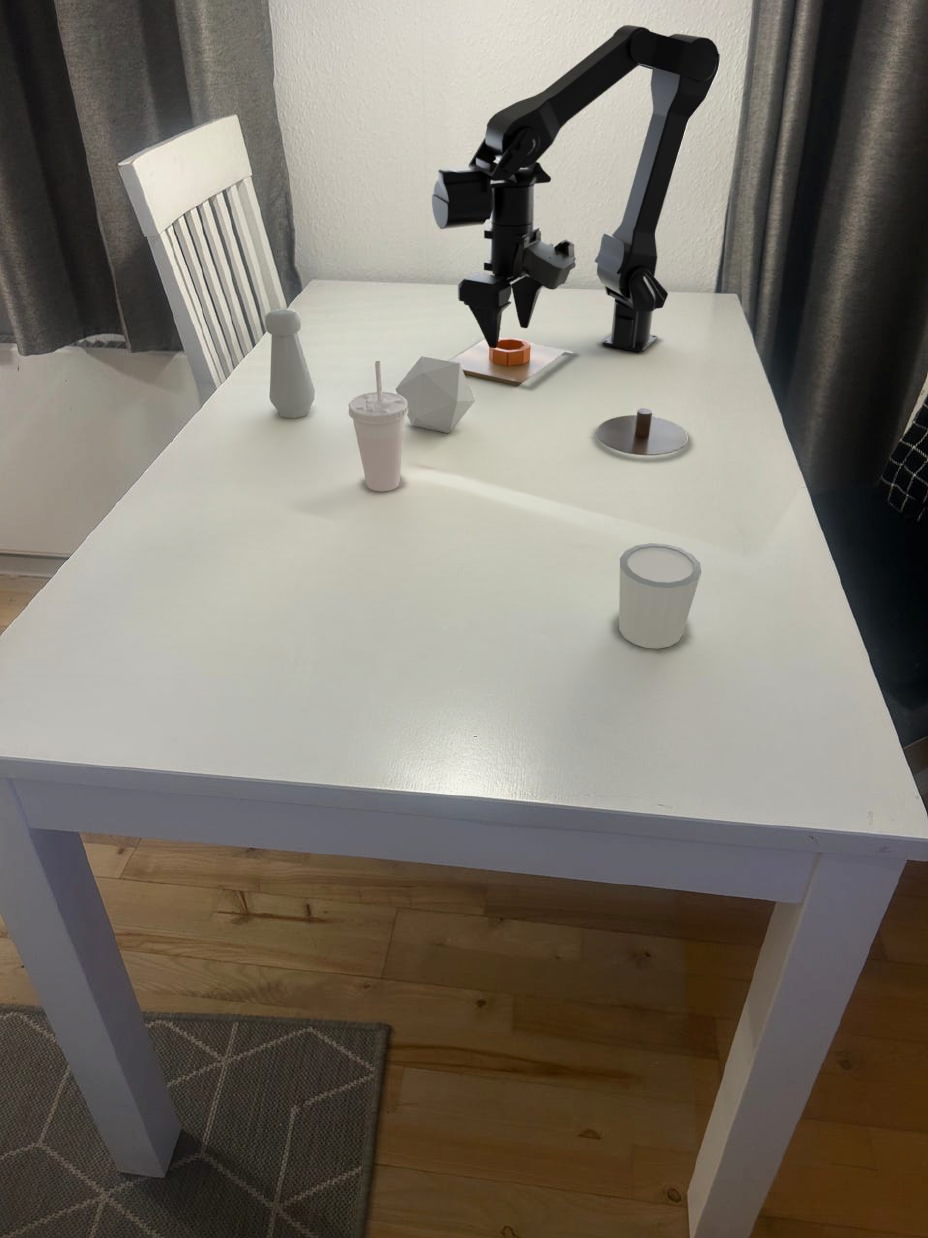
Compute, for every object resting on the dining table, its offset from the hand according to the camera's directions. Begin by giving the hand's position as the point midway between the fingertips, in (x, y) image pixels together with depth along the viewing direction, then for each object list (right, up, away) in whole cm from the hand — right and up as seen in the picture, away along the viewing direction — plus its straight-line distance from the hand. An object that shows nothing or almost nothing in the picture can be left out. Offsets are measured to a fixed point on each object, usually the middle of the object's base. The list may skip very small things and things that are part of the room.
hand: (509, 337), depth 130 cm
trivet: (0, -3, +2) cm, 4 cm away
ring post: (+15, -18, -18) cm, 30 cm away
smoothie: (-16, -25, -26) cm, 39 cm away
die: (-10, -16, -14) cm, 23 cm away
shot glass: (+10, -41, -48) cm, 64 cm away
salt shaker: (-28, -13, -11) cm, 33 cm away
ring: (0, -2, +2) cm, 3 cm away
